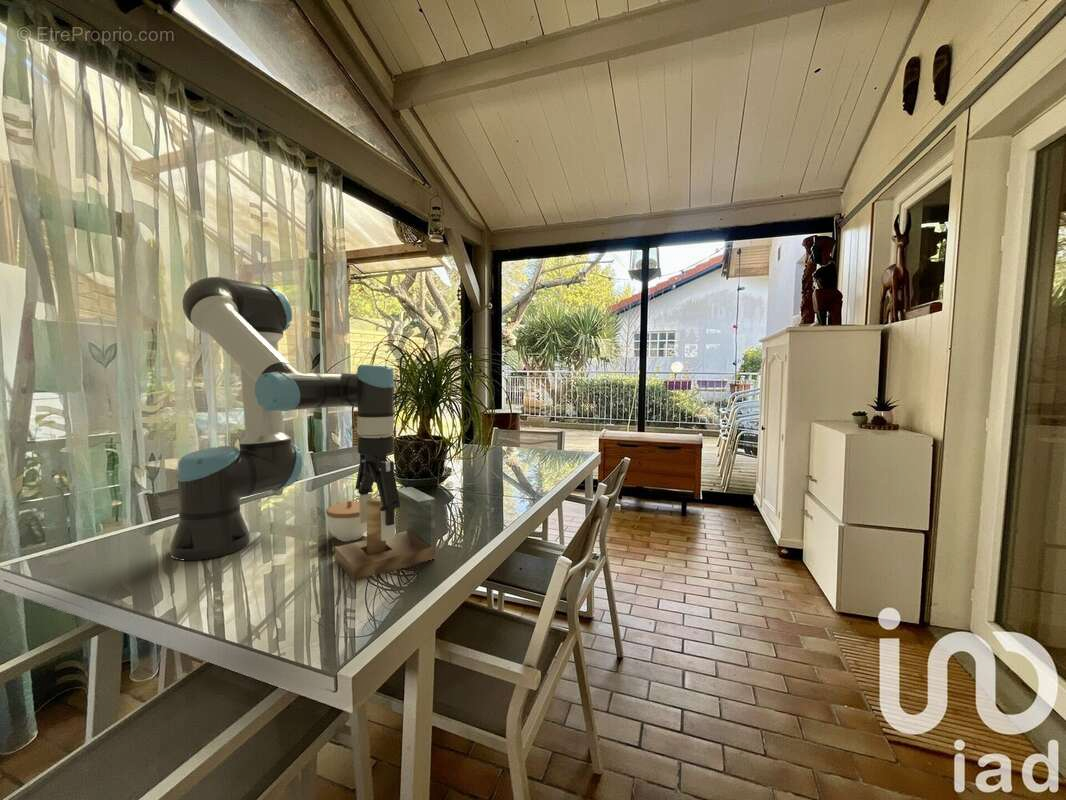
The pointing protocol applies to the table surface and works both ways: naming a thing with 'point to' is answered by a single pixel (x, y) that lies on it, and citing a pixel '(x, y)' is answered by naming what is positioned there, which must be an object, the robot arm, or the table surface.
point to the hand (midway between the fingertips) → (376, 530)
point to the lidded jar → (345, 521)
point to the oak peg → (374, 527)
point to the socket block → (395, 541)
